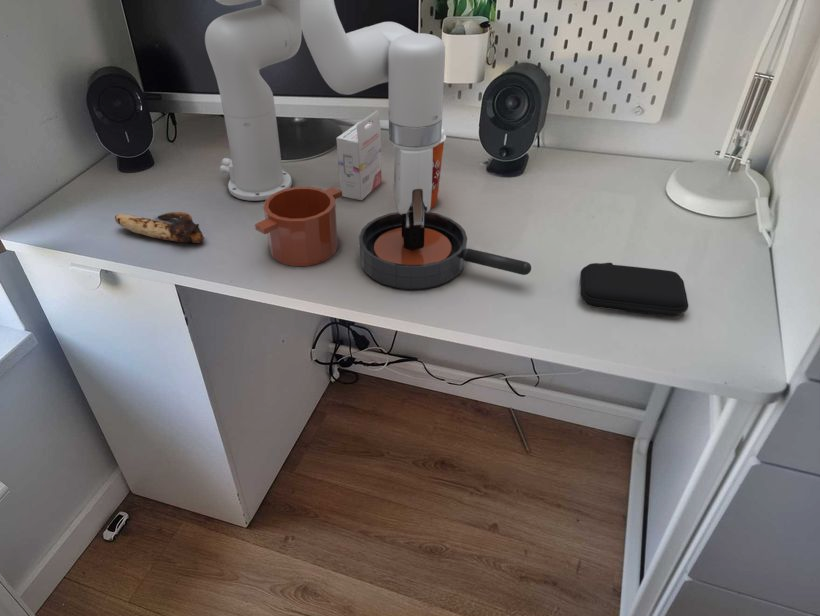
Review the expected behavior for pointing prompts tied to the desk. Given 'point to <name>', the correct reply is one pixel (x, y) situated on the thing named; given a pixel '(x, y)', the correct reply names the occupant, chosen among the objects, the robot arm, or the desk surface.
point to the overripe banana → (163, 227)
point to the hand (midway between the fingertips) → (412, 241)
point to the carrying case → (633, 289)
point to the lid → (394, 251)
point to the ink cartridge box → (360, 158)
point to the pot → (301, 225)
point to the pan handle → (496, 261)
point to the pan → (412, 274)
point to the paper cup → (437, 168)
